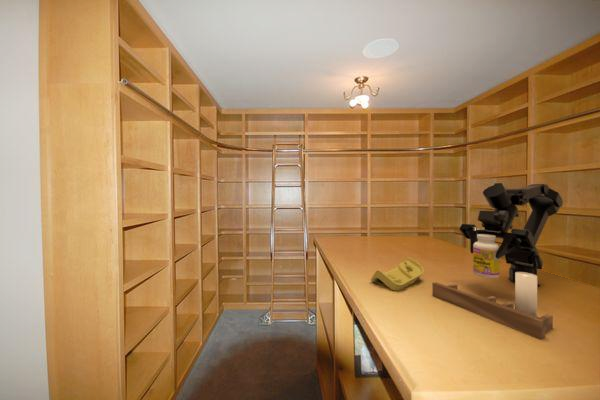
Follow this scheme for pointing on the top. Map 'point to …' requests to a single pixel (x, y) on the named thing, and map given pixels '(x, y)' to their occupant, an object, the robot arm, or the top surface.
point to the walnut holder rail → (495, 310)
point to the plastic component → (400, 275)
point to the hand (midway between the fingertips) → (483, 255)
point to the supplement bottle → (486, 256)
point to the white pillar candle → (526, 292)
